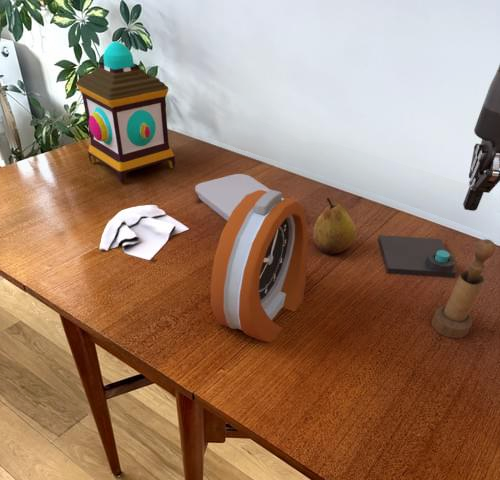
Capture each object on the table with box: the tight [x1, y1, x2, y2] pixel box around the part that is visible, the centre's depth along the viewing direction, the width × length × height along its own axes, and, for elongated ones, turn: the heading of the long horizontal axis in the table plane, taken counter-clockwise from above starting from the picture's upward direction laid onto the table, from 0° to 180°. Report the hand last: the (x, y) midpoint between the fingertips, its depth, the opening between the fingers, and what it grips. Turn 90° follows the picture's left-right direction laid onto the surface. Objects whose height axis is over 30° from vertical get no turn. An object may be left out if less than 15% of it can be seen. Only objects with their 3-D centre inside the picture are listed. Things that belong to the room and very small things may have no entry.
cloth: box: [99, 204, 190, 261], centre depth 103 cm, size 20×22×2 cm
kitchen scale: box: [377, 234, 457, 279], centre depth 100 cm, size 14×13×3 cm
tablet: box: [194, 173, 284, 222], centre depth 114 cm, size 16×26×2 cm, turn 35°
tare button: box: [435, 250, 451, 263], centre depth 95 cm, size 3×3×2 cm
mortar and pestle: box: [431, 238, 497, 339], centre depth 78 cm, size 7×6×18 cm
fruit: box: [312, 197, 356, 255], centre depth 98 cm, size 9×9×12 cm
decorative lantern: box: [75, 40, 176, 184], centre depth 119 cm, size 20×20×30 cm
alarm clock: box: [210, 189, 309, 343], centre depth 78 cm, size 22×10×23 cm, turn 151°
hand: (469, 208), depth 83 cm, fingers closed
